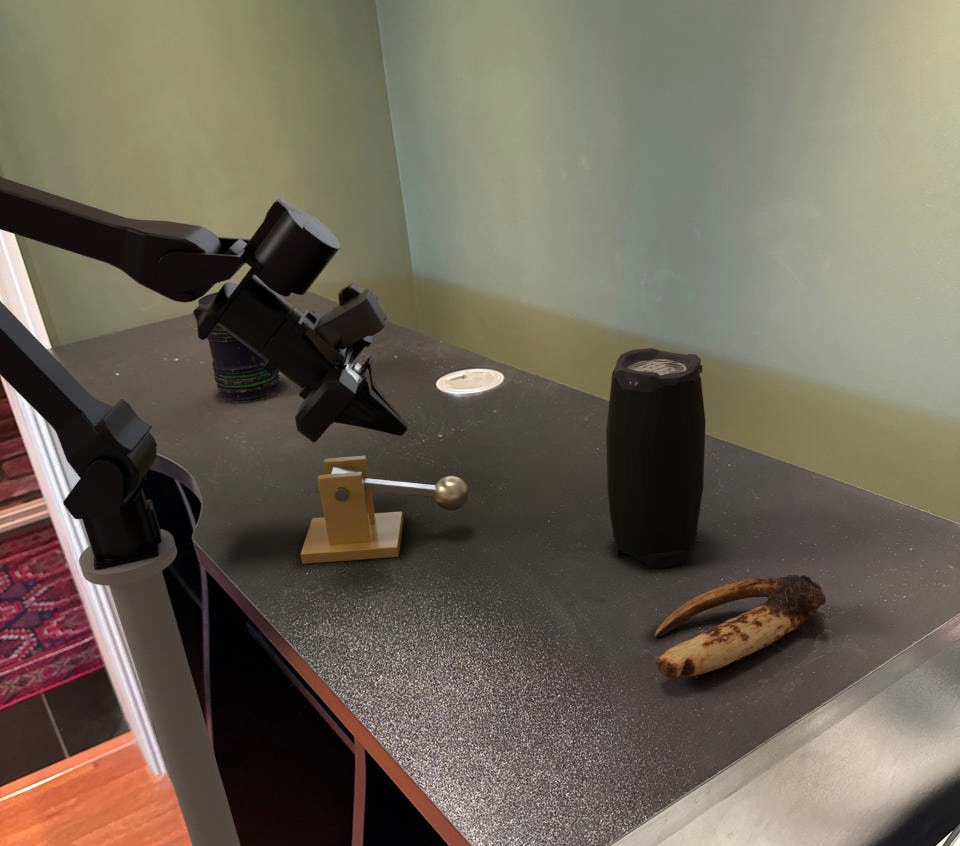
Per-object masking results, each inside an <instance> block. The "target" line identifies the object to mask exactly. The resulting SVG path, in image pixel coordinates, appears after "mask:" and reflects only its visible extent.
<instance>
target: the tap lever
mask: <svg viewBox="0 0 960 846" xmlns="http://www.w3.org/2000/svg"><path fill="white" fill-rule="evenodd" d="M351 472H360V469H353V468H343V467H333V469H332V472H331V474H338V473H351ZM363 481H364V488H365V491H370V492H372V493H381V494H391V495H402V496H411V497H421V498H429V499H430V498H431V499H434V501H435V503H436V504H437V505H438V506H439V507H440V508H441V509H443V510H446V511H457V510H459V509H461V508H462V507H464V505H465V504H466V503H467V501H468V498H469V487H468V485H467V484H466V482H465V481H464V480H463V479H462V478H461V477H458V476H456V475H447V476H444V477H442V478H440V479H439V480H438V481H437V482H436V484H425V483H416V482H408V481H407V482H406V481H397V480H396V481H395V480H385V479H377V478H370V479H367V478H363Z"/></svg>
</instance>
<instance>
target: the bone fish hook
mask: <svg viewBox="0 0 960 846" xmlns="http://www.w3.org/2000/svg"><path fill="white" fill-rule="evenodd" d="M751 598H767V600H766V601H765V602H763V603H761V604H759V605H758V606H757V607H754V608H752V609H751V610H749V611H745V612H743V613H741V614H739V615H737V616H735V617H732V618H729V619H727V620H725V621H723V622H722V623H721V624H719V625H717V626H715V627H713V628H711V629H709V630H707V631H705V632H703V633H700V634H698V635H696V636H695V637H693V638H691V639H689V640H685V641H682V642H679V643H678V644H676V645H674V646H673V647H670V648H669V649H666V650H665V652H663V653H661V654H660V655H658V656H657V658H656V666H657V669H658V672H660V673H661V674H662V675H663V676H664V677H666V678H669V679H676V678H679V677H680V676H681V675H682V676H684V677H686V678H689V677H694V676H695V677H696V676H699V675H703V674H707V673H710V672H713V671H715V670H718V669H722V668H724V667H726V666H727V665H728V666H729V665H730V664H731V663H733V662H735V661H739V660H741V659H743V658H744V657H747V656H748V655H751V654H754V653H755V652H757V651H759V650H762V649H763V648H767V647H769V646H770V645H771V644H773V643H775V642H776V641H777V640H780V639H781V638H783V637H784V636H785V635H787V634H789V633H792V632H794V631H795V630H797V629H798V628H799V627H800V626H801V625H802V624H804V623H805V622H806V620H807V618H809V617H812V616H813V615H814V614H816V613H817V611H818V609H820V608H821V606H823V605H825V604H826V602H827V601H826V600H827V599H826V595H825V593H824V592H823V590H822V587H821V585H819V584H818V583H817V582H815V581H813V580H812V578H811V577H810V576H806V575H805V574H803V575H800V576H799V575H797V574H788V575H785V576H781V577H776V578H775V577H767V578H752V579H751V578H750V579H745V580H738V581H736V582H731V583H728V584H724V585H722V586H720V587H716V588H713V589H711V590H708V591H706V592H704V593H702V594H699V595H698V596H696V597H694V598H692V599H690V600H688V601H687V602H685V603H684V604H683V605H681V606H679V607H678V608H677V609H676V610H674V611H673V612H672V613H671V614H669V616H667V617H666V619H665V620H664V621H663V622H662V623H661V624H660V626H659V627H658V628H657V630H656V631H655V632H654V638H660V637H662V636H664V635H666V634H668V633H669V632H671V631H672V630H674V629H676V628H678V627H679V626H680V625H682V624H683V623H685V622H686V621H688V620H689V619H691V618H693V617H694V616H696V615H698V614H700V613H702V612H705V611H708V610H710V609H713V608H716V607H720V606H722V605H725V604H729V603H733V602H736V601H740V600H745V599H751Z"/></svg>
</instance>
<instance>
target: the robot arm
mask: <svg viewBox="0 0 960 846" xmlns="http://www.w3.org/2000/svg"><path fill="white" fill-rule="evenodd" d="M0 230H1V231H4V232H7V233H10V234H13V235H16V236H20V237H23V238H26V239H29V240H33V241H36V242H38V243H42V244H45V245H48V246H51V247H55V248H58V249H60V250H64V251H67V252H71V253H73V254H76V255H80V256H83V257H86V258H90V259H93V260H96V261H99V262H102V263H105V264H108V265H110V266H111V267H114V268H116V269H118V270H120V271H121V272H123V273H124V274H126V275H127V276H128V277H129V278H131V279H132V280H133V281H134V282H136V284H139V285H141V286H142V287H144V288H146V289H149V290H150V291H153V292H155V293H157V294H159V295H161V296H162V297H165V298H167V299H169V300H171V301H173V302H178V303H193V302H194V301H196V300H197V301H198V300H199V299H200V298H202V297H204V296H206V294H207V293H208V292H209V291H210V290H211V289H212V288H213V287H214V286H216V284H219V283H222V282H225V283H224V284H223V285H222V286H221V288H220V289H219V290H218V291H217V292H218V293H217V294H216V296H215V297H214V299H213V300H212V301H211V303H210V304H207V305H202V304H201V305H199V304H198V305H197V306H196V308H195V309H194V310H193V311H192V314H193V316H194V318H195V321H196V329H197V337H198V339H199V340H201V341H205V340H207V337H208V336H209V334H210V333H211V332H212V331H213V330H214V329H215V327H216V326H217V325H219V326H220V327H222V328H223V329H224V330H226V331H227V332H228V333H230V334H231V335H232V336H233V337H235V338H236V339H237V340H239V341H240V342H241V343H243V344H244V345H245V346H247V347H248V348H249V349H251V350H252V351H253V352H254V353H256V354H258V353H259V352H260V353H259V354H258V356H260V357H261V358H262V359H264V360H265V361H266V364H265V365H264V367H263V369H265V370H266V371H267V372H269V373H270V374H271V375H272V374H273V372H274V371H275V370H276V369H277V370H278V371H279V373H280V374H282V375H283V376H285V377H286V378H287V379H289V380H290V381H291V382H292V383H294V384H295V385H296V386H298V388H300V391H299V393H298V396H299V397H301V399H302V400H303V401H302V402H301V403H300V405H299V408H298V410H297V412H296V414H295V416H294V419H295V425H296V430H297V432H299V433H300V434H301V435H303V436H304V437H305V438H306V439H308V440H309V441H310V442H312V443H313V444H315V443H317V441H319V439H320V438H321V437H322V436H323V434H324V433H325V432H326V431H327V430H328V429H329V427H330V426H331V425H333V424H334V423H337V424H341V425H346V426H347V425H348V426H353V427H360V428H363V429H368V430H373V431H377V432H382V433H385V434H390V435H395V436H399V437H402V436H404V434H405V433H406V432H408V431H407V430H408V423H407V422H406V421H405V420H404V419H403V417H402V415H400V413H399V412H398V411H397V409H396V408H395V406H394V405H393V404H392V402H391V401H390V399H388V397H387V396H386V394H385V393H384V392H383V390H382V389H381V388H380V386H379V385H378V383H377V382H376V380H375V374H374V358H373V356H372V355H370V356H369V357H368V358H367V359H366V360H365V361H364V362H363V364H361V363H359V361H356V362H354V361H355V360H356V359H357V358H358V356H359V355H360V354H361V353H362V352H363V350H364V349H365V347H366V348H369V347H370V346H371V344H372V343H373V340H374V337H375V335H376V334H378V333H380V332H382V330H383V329H384V328H385V326H386V323H385V321H386V320H388V316H387V315H386V313H385V311H384V309H383V308H382V307H381V305H380V303H379V302H378V301H379V297H378V295H377V294H376V293H373V292H372V290H371V289H370V288H369V287H366V288H361V287H359V286H358V285H356V284H355V283H353V282H352V283H350V284H348V285H346V286H345V287H343V288H341V289H340V290H339V292H338V303H339V304H338V306H337V305H336V306H334V307H333V308H332V310H330V311H328V312H327V313H326V314H324V315H322V316H321V315H320V314H318V312H316V311H315V310H313V309H308V308H306V309H305V310H304V311H303V312H301V310H299V309H297V308H296V307H294V306H293V304H291V303H289V301H288V300H286V299H285V298H283V297H290V296H291V295H292V294H294V295H298V296H304V295H305V294H306V293H307V291H308V290H309V289H310V288H311V286H312V285H313V284H314V283H315V281H316V280H317V279H318V277H319V276H320V275H321V274H322V272H323V271H324V269H325V268H326V267H327V266H328V265H329V264H330V262H331V261H332V259H334V257H335V256H336V254H337V253H338V252H339V251H340V249H341V247H342V246H341V243H340V240H338V238H337V237H336V235H334V233H333V232H332V231H331V230H330V229H329V228H328V227H327V226H326V225H325V224H323V222H322V221H320V219H318V218H317V217H315V216H313V215H312V217H311V216H310V215H309V214H307V213H306V211H305V212H304V211H303V210H302V209H299V208H298V207H295V206H292V205H291V204H289V203H288V202H287V201H285V200H284V199H283V198H278V199H276V200H275V201H274V202H273V203H272V205H271V206H270V207H269V209H268V210H267V212H266V215H265V217H264V219H263V221H262V222H261V224H260V225H259V227H258V228H257V229H256V231H255V232H254V234H253V235H252V236H251V238H241V237H240V238H239V237H226V236H225V237H223V236H218V235H217V234H215V232H213V231H212V230H211V229H208V228H206V227H204V226H201V225H196V224H191V223H184V222H183V223H182V222H176V221H170V220H154V219H137V218H130V217H125V216H122V215H119V214H116V213H112V212H109V211H107V210H104V209H100V208H97V207H94V206H91V205H88V204H85V203H81V202H79V201H76V200H72V199H70V198H67V197H64V196H60V195H57V194H54V193H51V192H47V191H45V190H41V189H38V188H35V187H33V186H29V185H26V184H24V183H20V182H17V181H14V180H11V179H7V178H5V177H3V176H1V175H0ZM245 265H248V266H249V267H250V268H249V270H248V271H247V273H246V274H245V275H244V277H243V278H242V279H241V281H240V282H239V283H235V282H226V281H229V280H231V279H232V278H233V276H235V274H237V273H238V271H239V270H240V269H241V268H242V267H243V266H245ZM282 296H283V297H282ZM262 348H263V349H262ZM353 362H354V363H353ZM0 376H1V378H3V379H4V380H5V381H6V382H7V384H9V385H10V386H11V388H13V389H14V390H15V391H16V392H17V393H18V394H19V395H20V396H21V397H22V398H23V399H24V400H25V402H26V403H28V404H29V406H31V408H33V410H35V412H37V414H39V415H40V417H42V419H44V420H45V421H46V422H47V423H48V425H50V427H52V429H53V431H55V434H56V436H57V439H58V441H59V444H60V446H61V449H62V452H63V455H64V458H65V459H66V462H67V463H68V465H69V466H70V467H71V468H72V470H73V472H74V473H75V474H76V475H77V477H78V478H79V479H78V480H77V482H76V484H75V485H74V486H73V488H72V489H71V491H70V492H69V493H68V494H67V496H66V497H65V498H64V500H63V502H62V505H63V506H64V507H65V508H66V510H67V511H68V513H69V514H70V516H72V517H73V519H74V520H81V521H82V523H83V527H84V530H85V532H86V536H87V539H88V542H89V546H90V545H91V548H92V551H93V554H94V564H93V565H94V568H95V570H100V569H105V568H109V567H114V566H118V565H122V564H127V563H131V562H135V561H140V560H144V559H149V558H153V557H157V556H158V555H159V545H158V544H160V543H161V542H162V538H161V530H160V529H161V526H160V524H159V520H158V517H157V513H156V510H155V506H154V503H153V500H152V499H147V498H146V494H145V492H144V489H143V486H141V485H142V484H143V483H144V482H145V481H146V480H147V473H148V472H149V470H150V469H151V467H153V465H154V463H155V461H156V458H157V447H158V443H157V442H156V439H155V438H154V436H153V434H152V433H151V432H150V431H151V429H152V428H153V426H152V425H151V424H149V423H147V422H145V421H144V420H143V419H141V417H139V415H137V414H136V412H135V410H134V409H133V408H132V407H131V405H130V404H129V402H127V401H126V400H125V399H124V398H123V399H122V398H121V399H119V400H118V401H117V402H116V403H115V404H114V406H113V405H110V404H108V403H106V402H104V401H101V400H100V399H97V398H96V397H94V396H93V395H92V394H90V393H89V391H87V390H86V388H85V387H84V386H83V385H81V383H80V382H79V381H78V380H77V379H76V378H75V377H74V376H73V375H72V374H71V373H70V372H69V370H67V369H66V368H65V367H64V365H63V364H62V363H61V362H60V361H59V360H58V359H57V358H56V357H55V356H54V355H53V354H52V353H51V352H50V351H49V350H48V348H46V346H44V345H43V344H42V343H41V342H40V340H39V339H37V337H36V336H35V335H34V334H33V333H32V332H31V331H30V330H29V329H28V328H27V327H26V326H25V325H24V323H22V322H21V320H20V319H18V317H17V316H16V315H14V313H13V312H12V311H11V310H10V309H9V308H8V307H7V306H6V305H5V304H4V303H3V302H2V301H1V300H0Z"/></svg>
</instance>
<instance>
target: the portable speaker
mask: <svg viewBox="0 0 960 846" xmlns="http://www.w3.org/2000/svg"><path fill="white" fill-rule="evenodd" d="M701 360H702V359H701V357H699V356H698V355H697V354H696V353H694V354H693V353H687V354H684V353H677V352H670V351H665V350H659V349H656V348H654V347H649V348H647V347H646V348H637V349H636V348H635V349H631V350H628V351H626V352H624V353H621V354H620V356H619V357H618V358H617V359H616V363H615V366H614V368H613V371H612V372H611V374H612V375H611V380H610V381H611V382H610V391H609V400H608V411H607V420H606V421H607V422H606V428H605V429H606V430H605V432H606V433H605V435H606V439H605V440H606V441H605V442H606V477H607V478H606V480H607V483H606V484H607V498H608V505H609V513H610V521H611V529H612V537H613V539H614V549H615V552H616V554H617V555H619V554H623V553H624V554H626V555H629V556H631V557H633V558H635V559H637V560H639V561H641V562H642V563H643V564H645V566H647V567H648V568H649V569H652V570H653V569H664V568H670V567H674V566H676V565H679V564H682V563H684V562H685V560H686V558H687V556H688V554H689V552H690V551H691V550H692V548H693V546H694V545H695V544H696V539H697V534H698V533H697V532H698V526H699V518H700V514H701V511H702V509H701V505H702V498H703V491H704V481H705V480H704V478H705V475H704V474H705V472H704V471H705V452H706V451H705V447H706V446H705V445H706V416H705V415H706V413H705V403H704V395H703V394H704V393H703V385H702V377H701V374H702V373H703V364H701Z"/></svg>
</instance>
